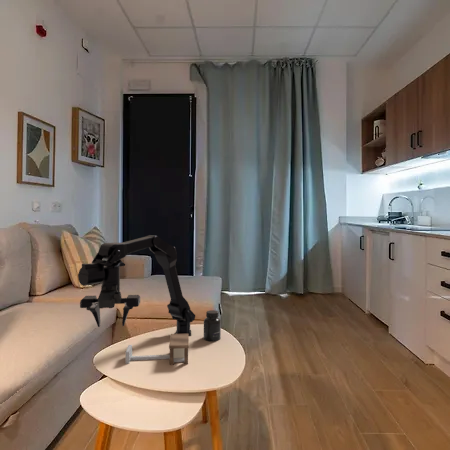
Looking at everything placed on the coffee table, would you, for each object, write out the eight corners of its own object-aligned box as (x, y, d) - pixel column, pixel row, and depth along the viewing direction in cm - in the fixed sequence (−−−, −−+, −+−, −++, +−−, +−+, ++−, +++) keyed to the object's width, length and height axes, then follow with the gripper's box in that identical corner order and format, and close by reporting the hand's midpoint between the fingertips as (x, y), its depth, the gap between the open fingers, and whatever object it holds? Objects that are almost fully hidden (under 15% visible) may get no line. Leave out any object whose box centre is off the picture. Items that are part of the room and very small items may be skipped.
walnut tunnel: (170, 352, 127) (170, 333, 126) (188, 351, 127) (188, 333, 127) (169, 365, 116) (169, 345, 116) (188, 365, 117) (188, 345, 116)
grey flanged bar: (128, 355, 123) (128, 344, 123) (186, 353, 126) (186, 342, 125) (125, 364, 116) (125, 352, 116) (186, 361, 119) (186, 350, 118)
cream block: (173, 353, 124) (173, 342, 123) (185, 352, 124) (185, 341, 124) (173, 358, 120) (173, 346, 119) (185, 357, 120) (185, 346, 120)
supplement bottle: (218, 345, 136) (218, 314, 135) (201, 344, 137) (201, 313, 137) (222, 338, 143) (222, 309, 142) (206, 337, 144) (206, 308, 143)
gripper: (74, 286, 109) (75, 335, 110) (135, 285, 111) (135, 333, 112) (84, 279, 120) (85, 324, 121) (140, 278, 122) (140, 322, 123)
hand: (111, 326), depth 119 cm, fingers open, 8 cm apart
